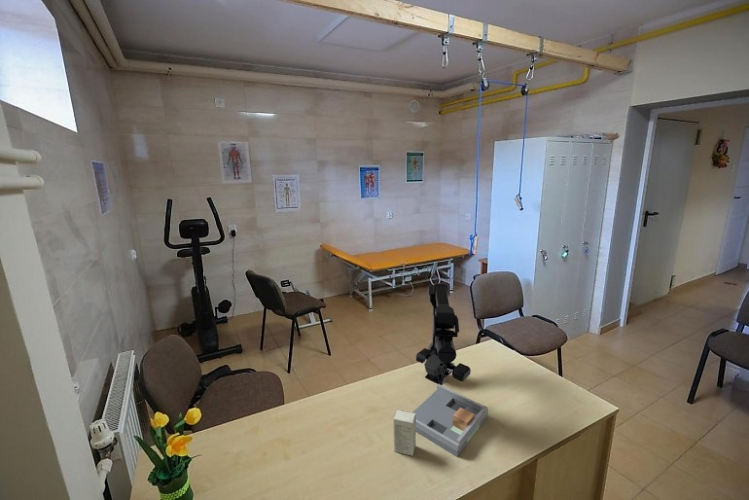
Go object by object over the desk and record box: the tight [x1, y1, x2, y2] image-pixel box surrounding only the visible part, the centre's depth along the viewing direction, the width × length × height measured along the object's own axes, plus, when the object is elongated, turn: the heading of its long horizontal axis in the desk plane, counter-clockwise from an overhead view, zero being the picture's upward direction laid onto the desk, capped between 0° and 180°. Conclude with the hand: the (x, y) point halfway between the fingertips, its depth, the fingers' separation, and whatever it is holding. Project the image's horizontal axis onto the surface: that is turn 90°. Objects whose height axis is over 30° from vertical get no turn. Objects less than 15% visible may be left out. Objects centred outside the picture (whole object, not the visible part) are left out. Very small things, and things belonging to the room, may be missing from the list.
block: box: [453, 407, 474, 431], centre depth 115 cm, size 5×5×4 cm
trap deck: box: [411, 383, 489, 457], centre depth 119 cm, size 20×22×5 cm
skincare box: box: [392, 409, 417, 457], centre depth 107 cm, size 6×4×12 cm
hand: (441, 384), depth 122 cm, fingers closed
